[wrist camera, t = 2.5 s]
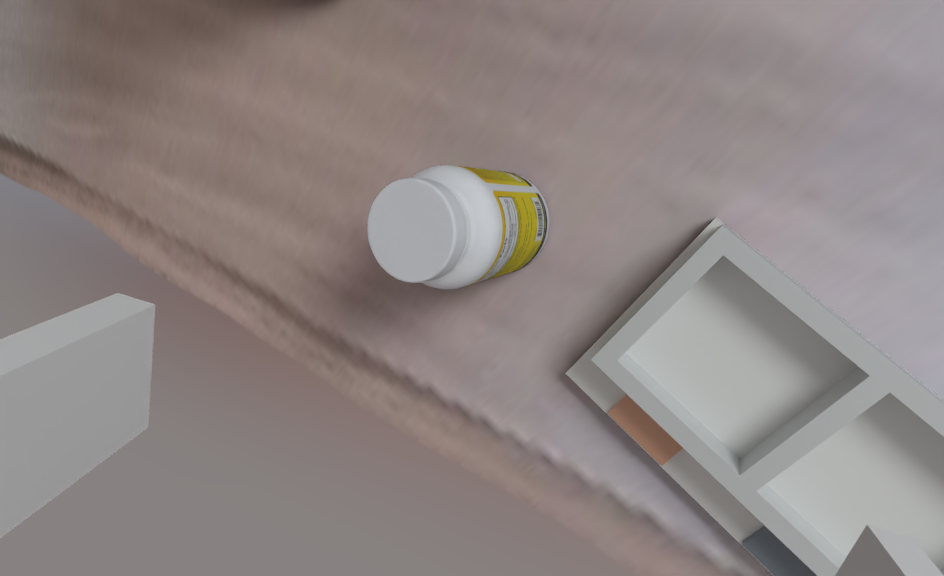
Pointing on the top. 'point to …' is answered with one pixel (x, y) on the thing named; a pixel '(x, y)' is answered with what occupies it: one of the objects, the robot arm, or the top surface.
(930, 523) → the socket board
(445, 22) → the top surface
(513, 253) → the pill bottle
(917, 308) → the top surface
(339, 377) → the top surface
